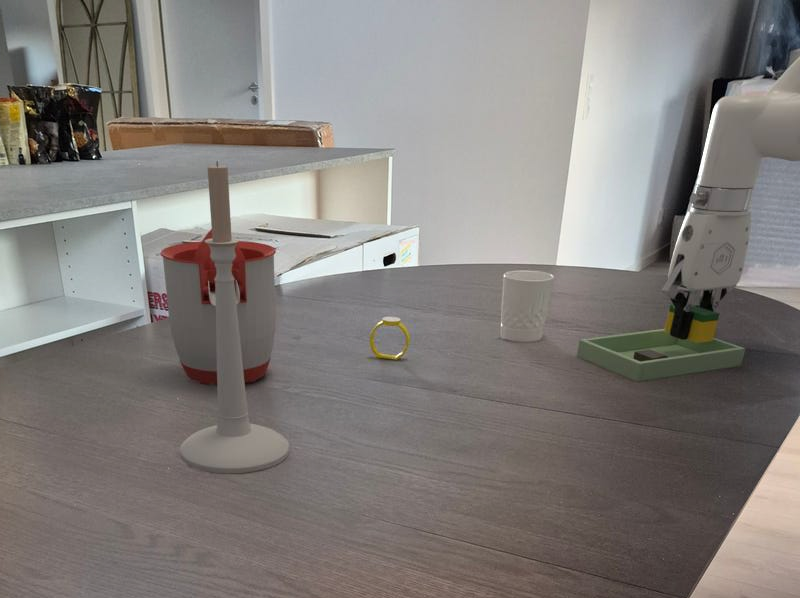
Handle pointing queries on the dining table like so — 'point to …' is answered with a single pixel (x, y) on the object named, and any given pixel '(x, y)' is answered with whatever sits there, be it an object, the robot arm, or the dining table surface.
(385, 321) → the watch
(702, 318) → the sponge
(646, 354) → the crust
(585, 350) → the tray
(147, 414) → the dining table surface
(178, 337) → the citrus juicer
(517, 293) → the white cup
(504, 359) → the dining table surface
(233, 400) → the candlestick
